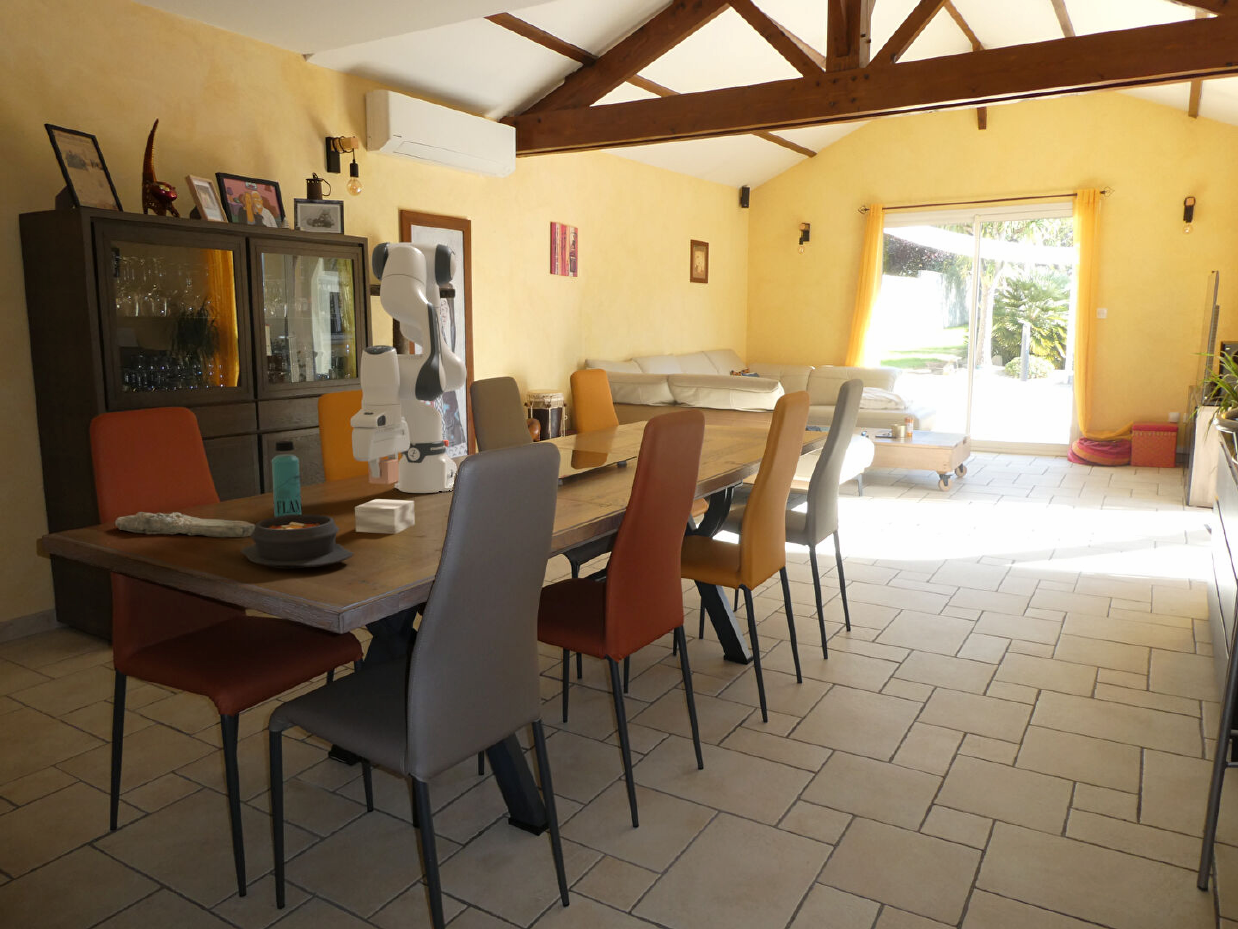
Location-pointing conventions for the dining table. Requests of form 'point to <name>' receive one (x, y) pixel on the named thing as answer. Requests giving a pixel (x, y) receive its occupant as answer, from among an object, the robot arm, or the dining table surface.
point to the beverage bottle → (286, 481)
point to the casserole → (296, 542)
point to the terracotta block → (386, 472)
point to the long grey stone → (183, 525)
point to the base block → (384, 516)
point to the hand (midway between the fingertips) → (384, 475)
